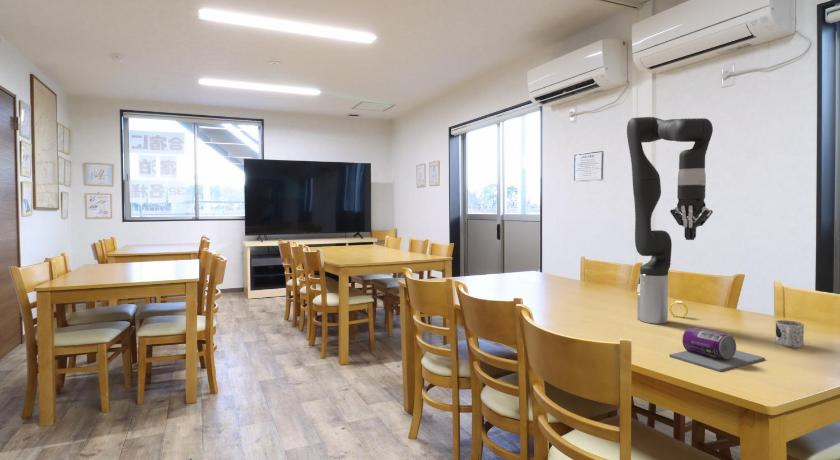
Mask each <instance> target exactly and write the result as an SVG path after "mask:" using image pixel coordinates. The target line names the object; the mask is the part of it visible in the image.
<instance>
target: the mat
mask: <svg viewBox="0 0 840 460" xmlns="http://www.w3.org/2000/svg"><path fill="white" fill-rule="evenodd" d="M669 357H670V358H673V359H675V360H680V361H683V362H685V363H688V364H693V365H696V366H699V367H702V368H705V367H706V368H705V369H709V370H713V371H716V372H719V373H720V372H723V371H724V372H725V371H727V370H732V369H735V368H738V367H743V366H746V365H749V364H753V363H758V362H761V361H765V360H766V359H765V357H764V356H760V355H757V354H754V353H753V354H752V353H748V352H745V351H740V350H737V349H736V352H735V354H734V356H733V357H732V358H730V359H717V358H713V357H709V356H705V355H701V354H698V353H694V352H690V351H687V350H684V351H680V352H676V353H670V354H669Z"/></svg>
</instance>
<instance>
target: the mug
mask: <svg viewBox="0 0 840 460" xmlns="http://www.w3.org/2000/svg"><path fill="white" fill-rule="evenodd" d="M804 327H805V324H804V323H802V322H799V321H794V320H784V319H781V320H780V319H778V320H776V321H775V344H776V345H778V346H780V347H781V346H782V347H785V348H794V349H795V348H796V349H801V348H804V333H805V331H804V330H805V329H804Z"/></svg>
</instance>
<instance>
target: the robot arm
mask: <svg viewBox="0 0 840 460" xmlns="http://www.w3.org/2000/svg"><path fill="white" fill-rule="evenodd" d="M713 130H714V128H713V124H712V122H711V121H710V119H708V118H704V117H702V118H701V117H699V118H671V119H662V118H658V117H654V116H641V117H640V116H639V117H631V118H630V119H629V120H628V122H627V125H626V137H627V143H628V145H627V146H628V149H629V154H630V156H629V157H630V164H631V174H632V175H631V176H632V177H631V178H632V179H631V180H632V191H633V198H634V199H633V200H634V212H635V213H634V215H635V216H634V217H635V218H634V219H635V221H634V222H635V223H634V224H635V225H634V245H635V249H636V252H637V253H638V255H639V256H641V257H642V256H643V257H651V258H650V260H649V261H648V262H646V263H644V264H642V265H641V266H640V267H639V293H637V302H636V303H637V307H636V309H637V315H636V316H637V317H636V319H637V320H639V321H641V322H644V323H647V324H658V325H659V324H660V325H661V324H667V323H668V320H669V316H668V313H669V271H670V267H671V264H672V263H671V261H672V248H673V247H672V238H671V236H670V234H669V232H667V231H665V230H663V229H659V230H655V229H653V230H652V216H653V213H654V211H655V208H656V207H657V204H658V203H659V201H660V199H661V196H662V188H661V187H662V186H661V177H660V174H659V171H658V170H657V168H656V167H655V166H654V165H653V163H651V161H650V160H649V159H648V157H647V156H646V153H645V151H644V148H643V143H652V142H657V141H661V140H663V141H669V142H670V141H671V142H672V141H673V142H677V143H679V142H680V143H681V142H682V143H688V142H689V143H694V144H693V146H692V147H691V148H689V149H684V150H682V151H680V152H679V158H678V159H679V160H678V173H677V193H676V194H677V200H678V201H677V203H676V207H674V209H670V211H669V212H670V214H671V216H672V217H673V218H674V220H675V221H676V223H677V224H678V226H682V227H683V228H684V238H685V240H686V241H695V239H696V237H697V228H698V227H702V226H703V225H704V224H705V223H706V222H707V220H708V219H709V218H710V217H711V215H712V214H713V213H714V212H713V210H712V209H709V208H708V207H707V206H706V202H705V199H706V185H707V184H706V179H707V177H706V176H707V175H706V155H707V151H708V147H709V144H710V141H711V138H712V136H713Z"/></svg>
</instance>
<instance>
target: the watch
mask: <svg viewBox="0 0 840 460" xmlns="http://www.w3.org/2000/svg"><path fill="white" fill-rule="evenodd" d="M675 304H676V305H683V307H685V311H686V312H685V313H684V315H675V314H674V313H673V310H672V306H674V305H675ZM688 308H689V307H688V306H687V305H686V304H685V303H684V302H683V301H681V300H675V301H674V302H673V303H671V304H670V306H669V313H670V314H671V316H672V317H674V318H675V317H676V318H682V319H683V318H684V317H686V316H687V315H688V312H689V309H688Z"/></svg>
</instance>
